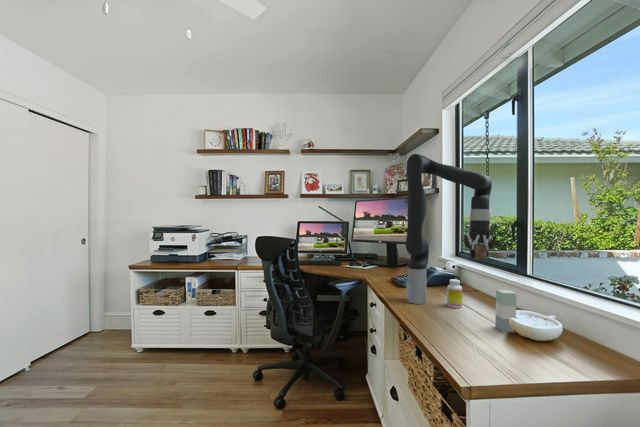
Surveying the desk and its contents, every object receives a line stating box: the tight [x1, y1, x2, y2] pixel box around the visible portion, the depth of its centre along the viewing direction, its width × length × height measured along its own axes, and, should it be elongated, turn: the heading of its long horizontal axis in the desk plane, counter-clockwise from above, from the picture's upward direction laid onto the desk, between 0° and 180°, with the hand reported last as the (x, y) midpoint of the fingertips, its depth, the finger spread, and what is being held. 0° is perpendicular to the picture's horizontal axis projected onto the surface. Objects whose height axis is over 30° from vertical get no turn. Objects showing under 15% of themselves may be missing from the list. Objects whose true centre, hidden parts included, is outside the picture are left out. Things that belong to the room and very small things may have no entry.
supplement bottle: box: [446, 278, 463, 309], centre depth 142 cm, size 7×7×13 cm
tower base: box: [494, 314, 515, 333], centre depth 115 cm, size 5×5×5 cm
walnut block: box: [471, 244, 488, 261], centre depth 128 cm, size 4×4×6 cm
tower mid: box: [495, 301, 517, 320], centre depth 115 cm, size 5×5×5 cm
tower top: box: [495, 289, 517, 308], centre depth 115 cm, size 5×5×5 cm
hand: (478, 258), depth 128 cm, fingers closed on walnut block, 4 cm apart
